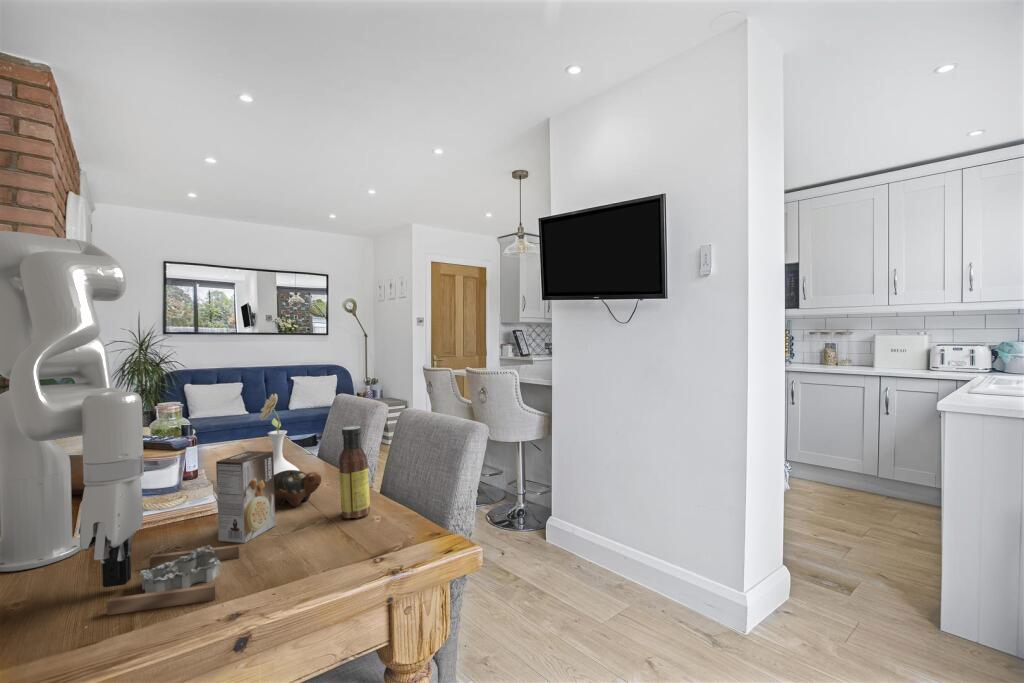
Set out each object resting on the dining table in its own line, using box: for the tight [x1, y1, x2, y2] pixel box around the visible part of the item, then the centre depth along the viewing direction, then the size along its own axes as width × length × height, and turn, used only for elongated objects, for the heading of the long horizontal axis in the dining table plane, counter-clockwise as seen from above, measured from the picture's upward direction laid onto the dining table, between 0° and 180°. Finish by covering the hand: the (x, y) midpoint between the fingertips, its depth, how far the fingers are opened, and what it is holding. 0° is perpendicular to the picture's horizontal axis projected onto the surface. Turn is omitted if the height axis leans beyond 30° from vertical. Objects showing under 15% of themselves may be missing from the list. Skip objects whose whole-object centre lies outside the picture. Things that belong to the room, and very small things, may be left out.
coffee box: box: [215, 450, 276, 544], centre depth 102 cm, size 9×6×16 cm
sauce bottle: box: [338, 425, 371, 519], centre depth 112 cm, size 6×6×20 cm
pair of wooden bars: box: [106, 544, 241, 616], centre depth 82 cm, size 14×16×2 cm
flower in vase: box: [258, 393, 300, 475], centre depth 137 cm, size 13×11×25 cm
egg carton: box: [140, 544, 221, 594], centre depth 82 cm, size 11×8×4 cm
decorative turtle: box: [274, 470, 322, 508], centre depth 120 cm, size 10×15×8 cm, turn 89°
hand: (117, 583), depth 79 cm, fingers closed
